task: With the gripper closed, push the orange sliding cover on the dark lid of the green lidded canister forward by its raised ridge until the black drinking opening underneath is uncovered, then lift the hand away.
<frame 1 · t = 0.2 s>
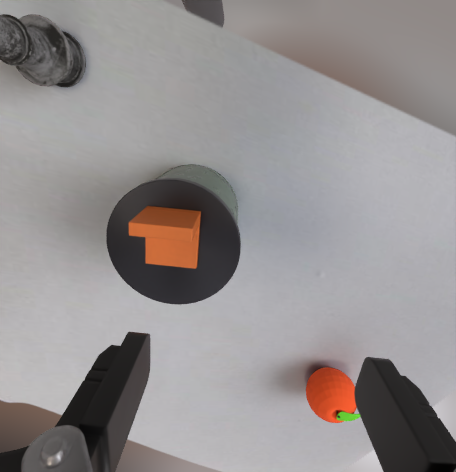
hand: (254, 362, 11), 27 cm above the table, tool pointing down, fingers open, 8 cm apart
green lidded canister: (193, 209, 37), on the table
clementine: (327, 374, 45), on the table
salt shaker: (62, 59, 31), on the table
lid slider: (167, 246, 23), point 14 cm above the table, slide at 0.0 cm
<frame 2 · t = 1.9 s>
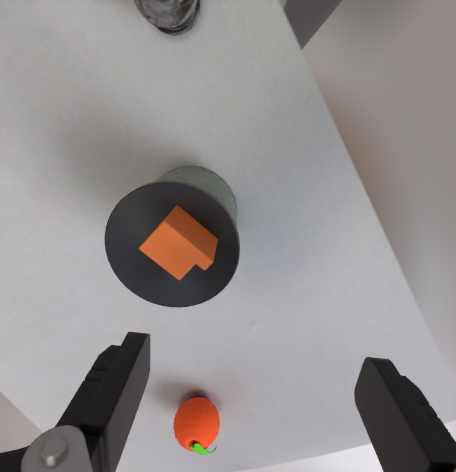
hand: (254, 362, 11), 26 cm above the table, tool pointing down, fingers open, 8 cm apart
green lidded canister: (192, 211, 36), on the table
clementine: (202, 403, 48), on the table
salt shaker: (173, 4, 29), on the table
lid slider: (173, 253, 23), point 14 cm above the table, slide at 0.0 cm
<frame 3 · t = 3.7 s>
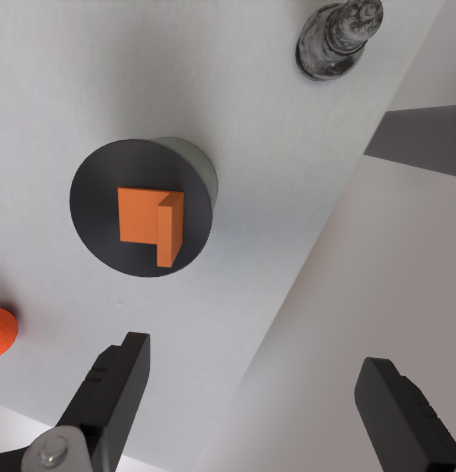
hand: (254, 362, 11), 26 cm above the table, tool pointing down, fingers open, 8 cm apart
green lidded canister: (171, 185, 35), on the table
clementine: (7, 319, 43), on the table
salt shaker: (321, 52, 30), on the table
lid slider: (144, 224, 22), point 14 cm above the table, slide at 0.0 cm
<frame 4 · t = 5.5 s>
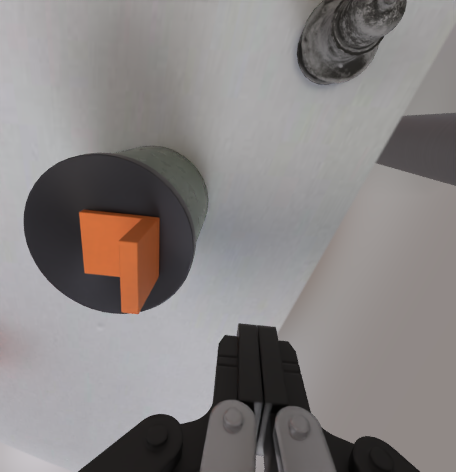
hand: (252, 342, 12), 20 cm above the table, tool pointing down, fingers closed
green lidded canister: (156, 200, 31), on the table
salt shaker: (327, 51, 26), on the table
lid slider: (109, 258, 18), point 14 cm above the table, slide at 0.0 cm
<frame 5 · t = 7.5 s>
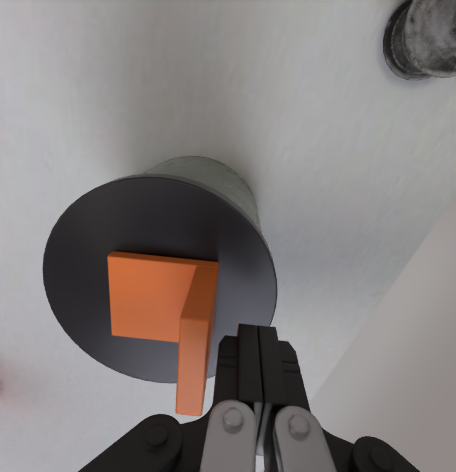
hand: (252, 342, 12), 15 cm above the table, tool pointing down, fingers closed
green lidded canister: (194, 220, 26), on the table
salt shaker: (421, 38, 20), on the table
lid slider: (152, 325, 12), point 14 cm above the table, slide at 0.7 cm, touching gripper
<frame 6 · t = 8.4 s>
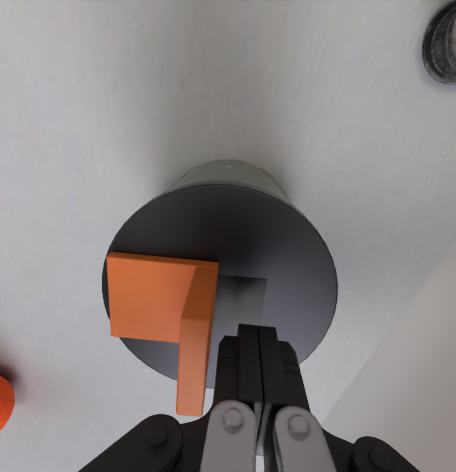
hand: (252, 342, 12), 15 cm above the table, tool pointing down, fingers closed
green lidded canister: (227, 224, 26), on the table
clementine: (0, 384, 34), on the table
lid slider: (152, 325, 12), point 14 cm above the table, slide at 3.7 cm, touching gripper
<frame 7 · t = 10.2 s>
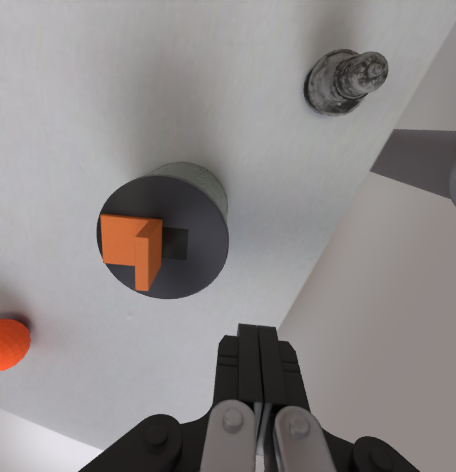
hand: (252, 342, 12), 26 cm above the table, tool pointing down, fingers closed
green lidded canister: (183, 206, 37), on the table
clementine: (18, 330, 44), on the table
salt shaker: (327, 88, 32), on the table
lid slider: (124, 250, 24), point 14 cm above the table, slide at 3.5 cm
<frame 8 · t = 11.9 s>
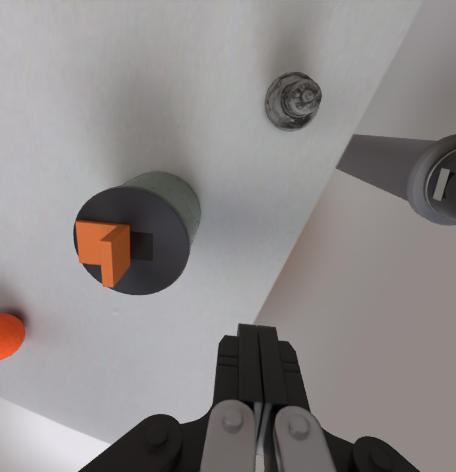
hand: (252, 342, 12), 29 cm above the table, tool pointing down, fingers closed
green lidded canister: (161, 212, 41), on the table
clementine: (15, 324, 49), on the table
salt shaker: (287, 104, 35), on the table
lid slider: (95, 252, 27), point 14 cm above the table, slide at 3.5 cm
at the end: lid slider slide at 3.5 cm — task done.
